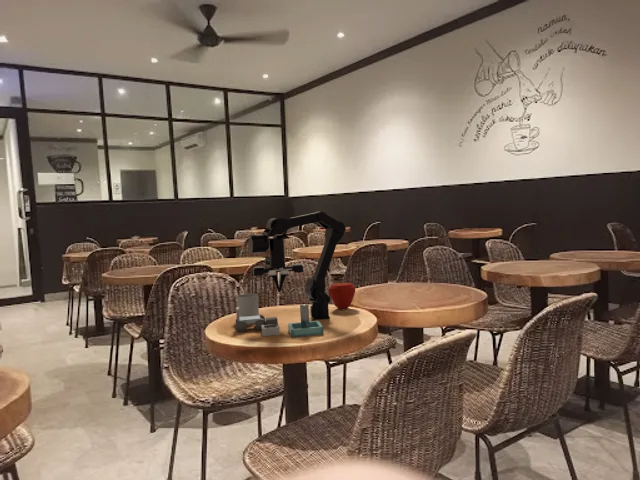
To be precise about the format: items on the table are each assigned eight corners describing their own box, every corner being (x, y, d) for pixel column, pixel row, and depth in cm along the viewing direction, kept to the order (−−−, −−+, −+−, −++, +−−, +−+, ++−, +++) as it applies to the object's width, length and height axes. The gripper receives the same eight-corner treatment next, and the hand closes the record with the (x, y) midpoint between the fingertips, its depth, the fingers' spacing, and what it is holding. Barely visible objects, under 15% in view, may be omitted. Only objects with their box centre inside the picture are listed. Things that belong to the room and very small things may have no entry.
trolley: (265, 324, 185) (264, 303, 184) (266, 330, 175) (265, 308, 175) (236, 327, 183) (234, 306, 182) (236, 332, 174) (234, 310, 173)
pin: (309, 329, 171) (307, 303, 170) (310, 331, 168) (309, 305, 168) (300, 329, 171) (299, 304, 170) (301, 331, 168) (300, 306, 167)
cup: (254, 322, 189) (253, 297, 188) (235, 322, 190) (233, 297, 190) (261, 317, 197) (260, 293, 196) (242, 317, 199) (241, 293, 198)
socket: (278, 330, 174) (278, 323, 174) (279, 334, 168) (279, 327, 168) (261, 332, 173) (261, 325, 173) (262, 336, 167) (262, 329, 167)
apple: (357, 306, 210) (356, 278, 210) (353, 311, 200) (352, 282, 199) (332, 306, 213) (331, 279, 212) (327, 311, 202) (326, 282, 202)
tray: (318, 327, 175) (318, 320, 175) (323, 334, 165) (323, 326, 165) (288, 330, 173) (288, 323, 173) (291, 337, 164) (291, 329, 163)
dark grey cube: (277, 327, 179) (276, 316, 179) (278, 330, 175) (277, 319, 175) (266, 328, 178) (265, 317, 178) (267, 331, 174) (266, 320, 174)
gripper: (298, 248, 193) (300, 287, 194) (251, 251, 190) (253, 290, 191) (302, 250, 182) (304, 291, 183) (252, 253, 179) (254, 295, 180)
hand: (279, 292), depth 184 cm, fingers closed
